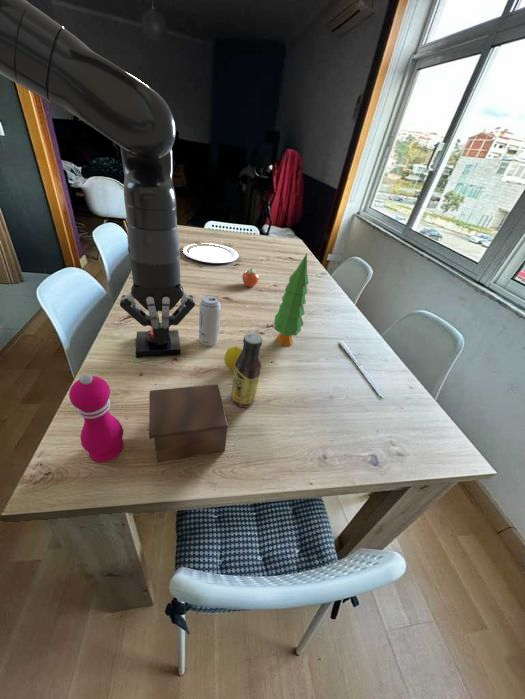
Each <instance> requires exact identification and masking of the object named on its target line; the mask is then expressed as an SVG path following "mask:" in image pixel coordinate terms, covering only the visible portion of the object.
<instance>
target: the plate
mask: <svg viewBox="0 0 525 699" xmlns="http://www.w3.org/2000/svg"><path fill="white" fill-rule="evenodd" d="M200 243H201V244H209V245H215V246H220V247H223V248H225V249H227V250H225V249H223V248H219V247H214V246H197V247H193V248H191V249H190V250H189V253H188V252H187V249H188V248H189V247H190V246H193V245H197V244H195V243H190V244H187V245H185V246H184V247H182V249H183V250H181V252H182V251H183V252H182V254H183V255H184V256H185V255H186V256H185V257H187V258H188V259H191V260H194V261H197V262H201V263H205V264H220V265H221V264H229V263H232V262H235V261H237V260H238V259H239V253H238V252H237V251H236V250H235V249H234V248H231V247H229V246H226V245H223V244H218V243H212V242H200ZM228 250H229V251H230V252H229V251H228Z"/></svg>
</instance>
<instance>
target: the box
mask: <svg viewBox="0 0 525 699" xmlns="http://www.w3.org/2000/svg"><path fill="white" fill-rule="evenodd" d="M227 435H228V427H227V428H223V429H216V430H208V431H201V432H194V433H187V434H180V435H173V436H166V437H159V438H153V441H154V449H155V456H156V462H157V463H162V462H169V461H175V460H181V459H186V458H192V457H198V456H205V455H210V454H217V453H222V452H225V451H226V445H227Z"/></svg>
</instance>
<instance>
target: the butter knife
mask: <svg viewBox="0 0 525 699" xmlns="http://www.w3.org/2000/svg"><path fill="white" fill-rule="evenodd" d="M338 342H339V344H340V346H341V347H342V349H343V350H344V351H345V352H346V354H347V355H348V356H349V357H350V358H351V360H352V361H353V362H354V363H355V365H356V366H357V367H358V368H359V370H360V371H361V373H362V374H363V376H364V377H365V379H366V380H367V381H368V382H369V384H370V385H371V386H372V388H373V389H374V390H375V392H376V393H377V395H379V397H384V395H383V392H382V390H381V388H380V386H379V384H378V383H377V381H376V380H375V379H374V377H373V376H372V375H371V374H370V373H369V372H368V371H367V370H366V369H365V368H364V367H363V366H362V365H361V363H360V362H359V361H358V360H357V358H356V357H355V356H354V354H353V353H352V351H351V349H350V347H349V346H348V344H346V343H345V341H343V340H339V341H338Z"/></svg>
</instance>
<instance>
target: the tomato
mask: <svg viewBox="0 0 525 699" xmlns="http://www.w3.org/2000/svg"><path fill="white" fill-rule="evenodd" d="M241 278H242V282H243V284H244V285H245V286H246V287H248V288H253V287H255V286H256V285H257V284H258V282H259V279H260V275H259V274H258V272H257V271H256V270H254V269H253V268H252V267H251V268H250V269H248V270H245V271H244V272H243V273H242V277H241Z"/></svg>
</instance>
